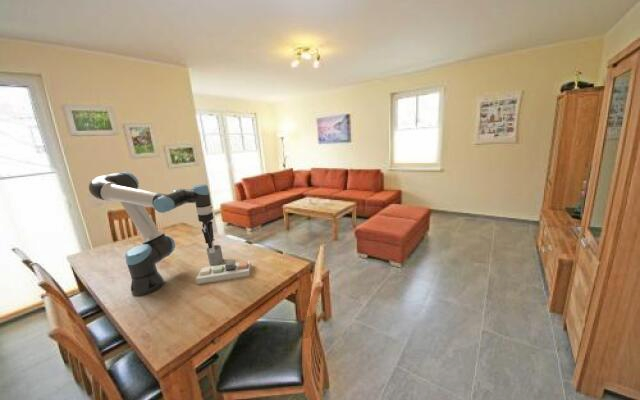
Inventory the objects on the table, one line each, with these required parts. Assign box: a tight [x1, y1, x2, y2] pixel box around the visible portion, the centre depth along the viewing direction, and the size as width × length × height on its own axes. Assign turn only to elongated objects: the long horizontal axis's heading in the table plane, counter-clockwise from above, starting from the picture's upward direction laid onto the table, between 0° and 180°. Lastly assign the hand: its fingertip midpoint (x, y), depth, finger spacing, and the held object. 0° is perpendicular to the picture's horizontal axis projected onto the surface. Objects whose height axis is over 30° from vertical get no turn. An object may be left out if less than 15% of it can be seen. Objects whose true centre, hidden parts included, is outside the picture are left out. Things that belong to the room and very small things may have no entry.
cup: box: [206, 244, 224, 266], centre depth 160 cm, size 8×8×10 cm
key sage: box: [213, 264, 224, 273], centre depth 144 cm, size 5×5×4 cm
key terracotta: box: [238, 260, 249, 269], centre depth 146 cm, size 5×5×4 cm
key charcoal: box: [225, 260, 237, 271], centre depth 144 cm, size 5×5×4 cm
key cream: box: [199, 266, 211, 275], centre depth 143 cm, size 5×5×4 cm
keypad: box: [195, 260, 252, 285], centre depth 145 cm, size 28×12×4 cm, turn 100°
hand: (212, 252), depth 142 cm, fingers closed
